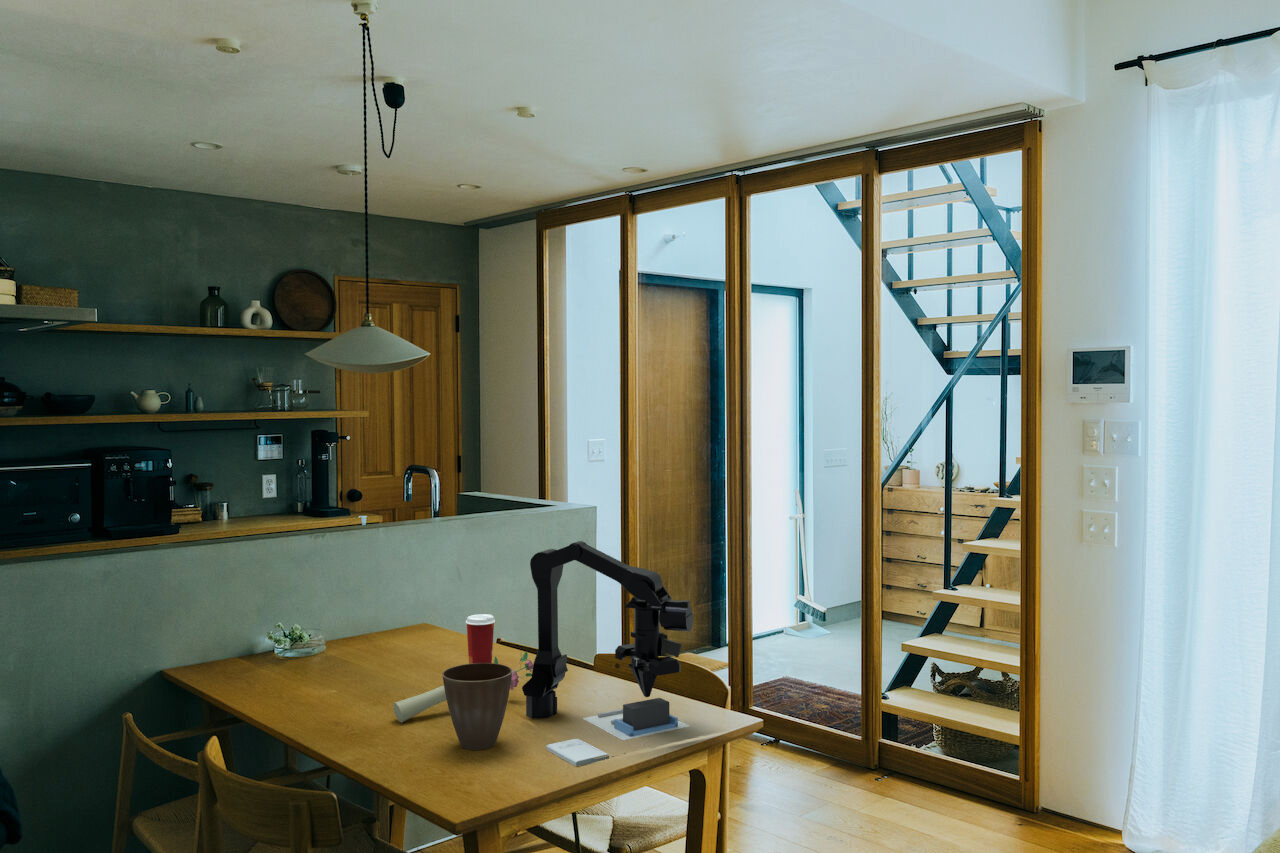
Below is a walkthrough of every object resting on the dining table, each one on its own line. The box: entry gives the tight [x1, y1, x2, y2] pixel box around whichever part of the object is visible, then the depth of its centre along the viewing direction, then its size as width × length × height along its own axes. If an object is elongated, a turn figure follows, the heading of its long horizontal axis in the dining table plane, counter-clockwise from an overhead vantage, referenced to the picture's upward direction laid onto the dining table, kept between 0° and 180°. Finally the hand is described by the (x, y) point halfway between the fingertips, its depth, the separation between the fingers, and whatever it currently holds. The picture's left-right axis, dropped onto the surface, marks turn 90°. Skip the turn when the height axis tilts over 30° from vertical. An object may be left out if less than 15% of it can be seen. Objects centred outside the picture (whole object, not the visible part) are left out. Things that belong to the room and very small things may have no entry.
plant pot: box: [442, 662, 513, 751], centre depth 213 cm, size 15×15×16 cm
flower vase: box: [392, 651, 534, 724], centre depth 238 cm, size 12×12×35 cm
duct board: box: [582, 708, 690, 741], centre depth 226 cm, size 18×18×3 cm
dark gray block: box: [622, 697, 670, 731], centre depth 223 cm, size 10×4×6 cm, turn 123°
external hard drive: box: [545, 738, 610, 767], centre depth 208 cm, size 2×8×12 cm
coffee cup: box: [465, 613, 496, 664], centre depth 274 cm, size 8×8×15 cm
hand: (646, 696), depth 222 cm, fingers closed
